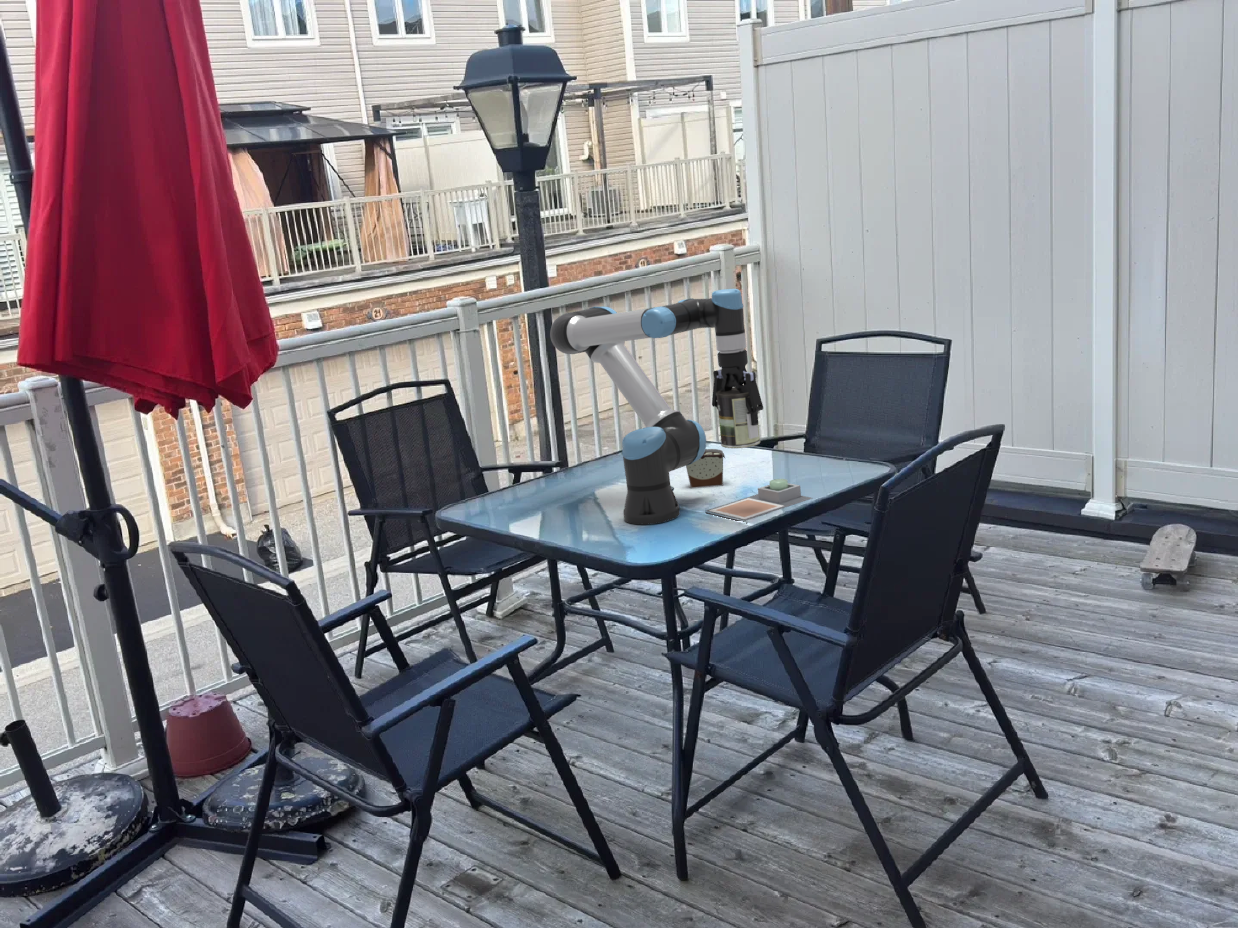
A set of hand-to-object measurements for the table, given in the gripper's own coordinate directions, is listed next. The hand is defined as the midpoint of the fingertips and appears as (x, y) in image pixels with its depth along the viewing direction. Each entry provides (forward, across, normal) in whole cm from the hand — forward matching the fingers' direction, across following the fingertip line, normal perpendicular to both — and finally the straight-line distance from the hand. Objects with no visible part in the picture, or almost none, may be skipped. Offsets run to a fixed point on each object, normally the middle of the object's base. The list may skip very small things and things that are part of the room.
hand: (739, 435), depth 282 cm
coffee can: (+2, 0, 0) cm, 2 cm away
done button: (+19, 0, -12) cm, 22 cm away
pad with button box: (+21, 0, -4) cm, 21 cm away
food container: (+21, +32, -12) cm, 40 cm away
